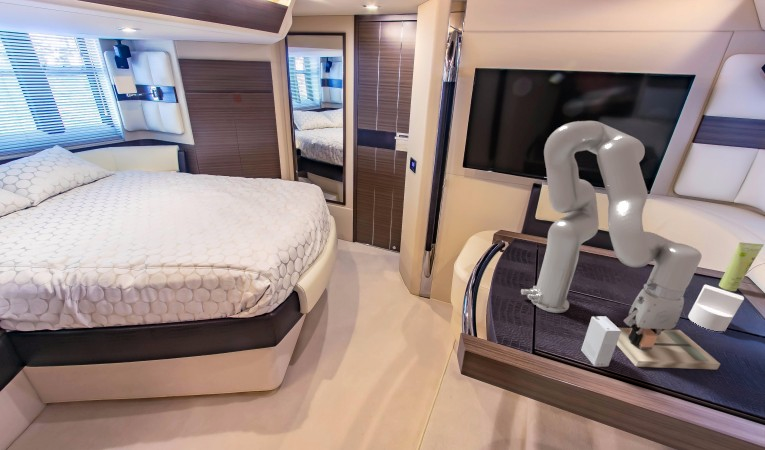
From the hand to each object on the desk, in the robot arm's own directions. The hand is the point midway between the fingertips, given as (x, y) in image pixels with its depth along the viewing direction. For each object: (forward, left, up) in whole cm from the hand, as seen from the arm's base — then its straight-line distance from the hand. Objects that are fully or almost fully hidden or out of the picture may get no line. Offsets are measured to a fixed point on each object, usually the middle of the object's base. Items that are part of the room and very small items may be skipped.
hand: (639, 342), depth 91 cm
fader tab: (0, 0, 0) cm, 0 cm away
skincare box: (-15, -4, -3) cm, 16 cm away
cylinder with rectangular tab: (+32, +13, -3) cm, 35 cm away
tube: (+59, +34, -3) cm, 68 cm away
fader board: (+6, 0, -3) cm, 7 cm away
